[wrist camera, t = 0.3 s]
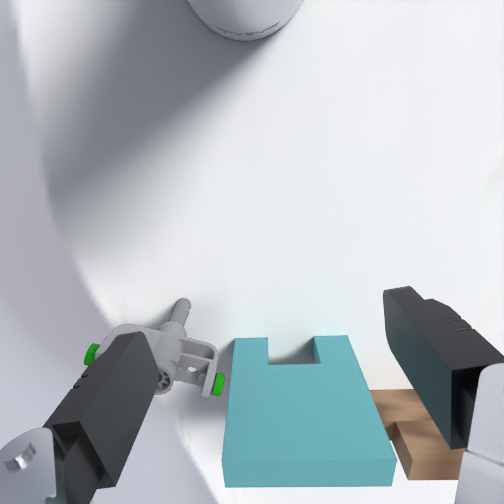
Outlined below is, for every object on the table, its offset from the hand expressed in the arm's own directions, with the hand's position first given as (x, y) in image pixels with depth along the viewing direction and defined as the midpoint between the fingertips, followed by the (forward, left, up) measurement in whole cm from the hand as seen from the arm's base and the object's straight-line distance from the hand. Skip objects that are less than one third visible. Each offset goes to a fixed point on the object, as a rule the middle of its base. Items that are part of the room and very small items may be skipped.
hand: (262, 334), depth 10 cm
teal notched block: (+17, +3, -19) cm, 25 cm away
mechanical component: (+11, -8, -19) cm, 23 cm away
